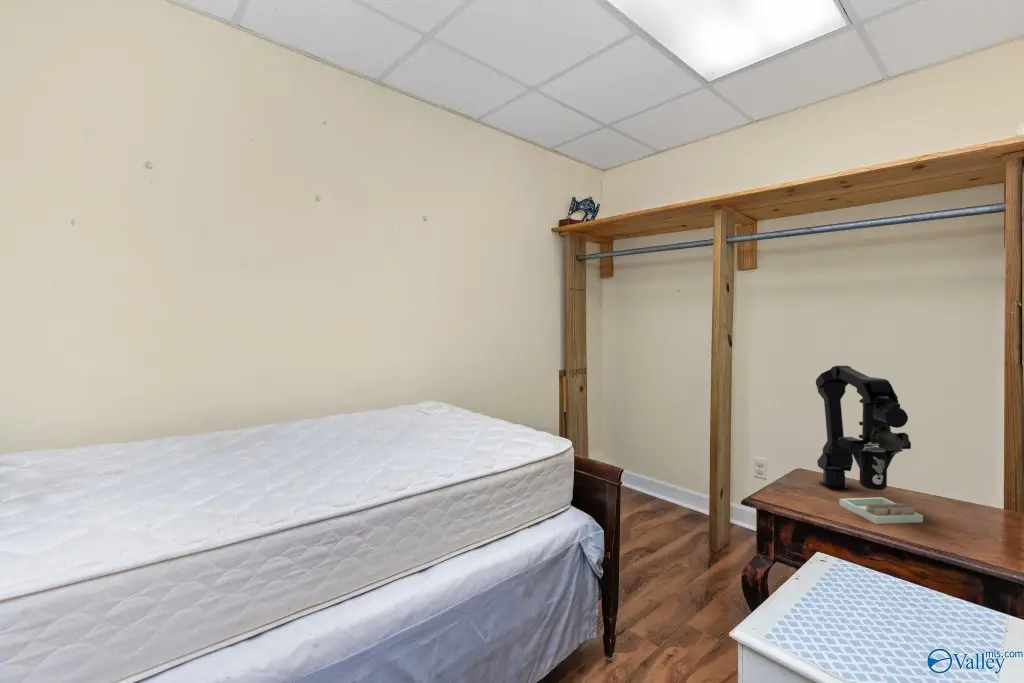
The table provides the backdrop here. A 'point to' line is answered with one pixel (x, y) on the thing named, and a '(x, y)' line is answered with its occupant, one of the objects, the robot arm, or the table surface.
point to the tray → (860, 508)
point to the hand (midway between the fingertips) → (873, 470)
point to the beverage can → (874, 469)
